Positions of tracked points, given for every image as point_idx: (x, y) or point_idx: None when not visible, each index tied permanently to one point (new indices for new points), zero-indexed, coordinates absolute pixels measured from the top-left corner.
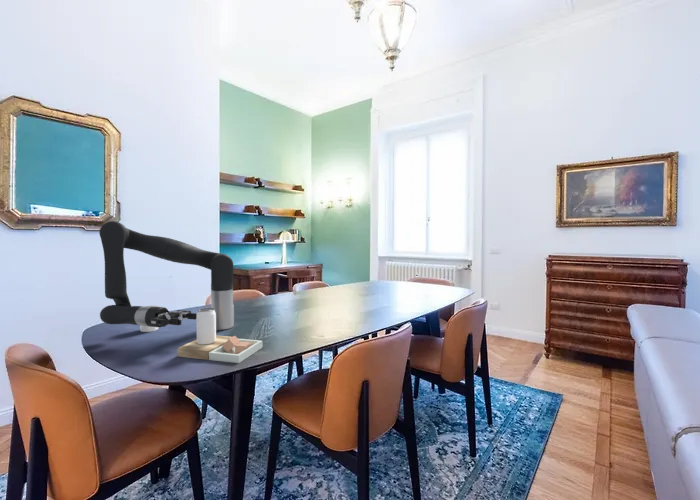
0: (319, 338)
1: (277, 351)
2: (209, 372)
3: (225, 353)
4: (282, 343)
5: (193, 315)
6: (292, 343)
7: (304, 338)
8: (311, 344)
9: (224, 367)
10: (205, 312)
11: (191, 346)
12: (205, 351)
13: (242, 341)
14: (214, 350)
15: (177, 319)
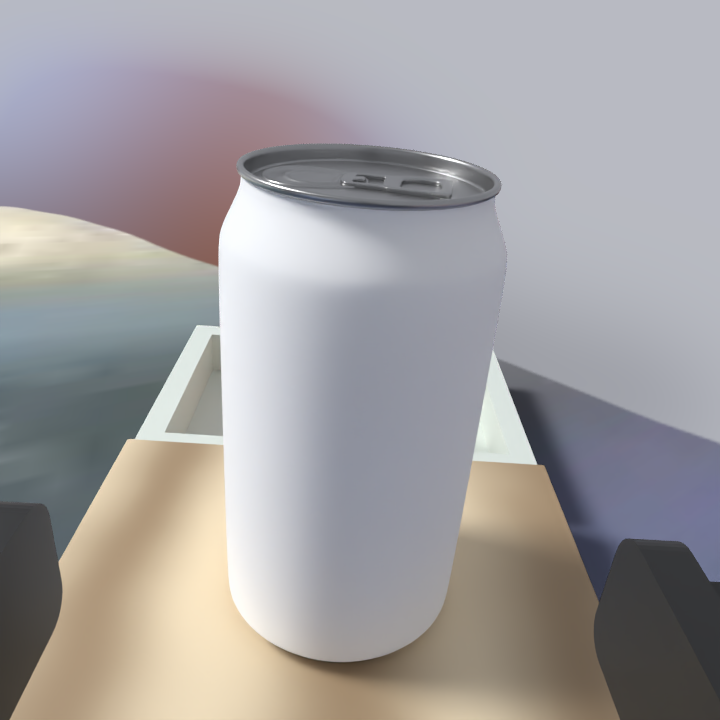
0: (43, 250)
1: None
2: (672, 442)
3: (498, 393)
4: (118, 320)
5: (12, 594)
6: (121, 296)
7: (29, 278)
8: (143, 259)
9: (571, 413)
10: (466, 181)
11: (530, 647)
12: (549, 487)
13: (180, 412)
14: (482, 458)
15: (706, 592)
